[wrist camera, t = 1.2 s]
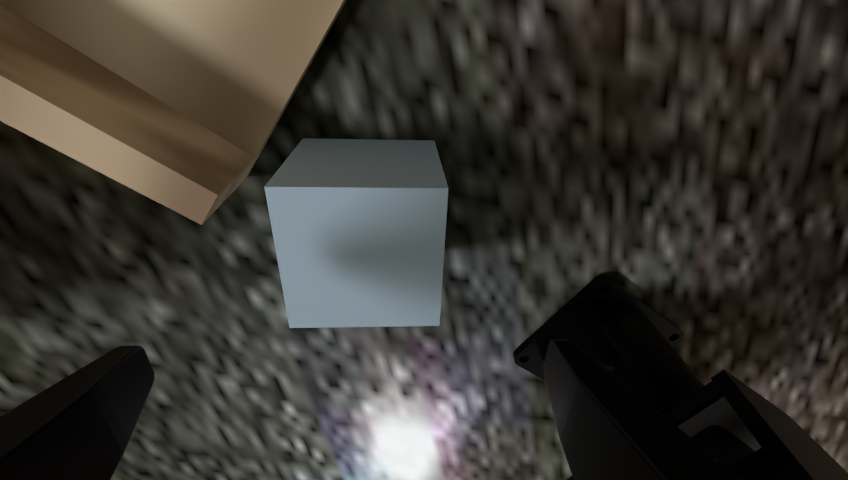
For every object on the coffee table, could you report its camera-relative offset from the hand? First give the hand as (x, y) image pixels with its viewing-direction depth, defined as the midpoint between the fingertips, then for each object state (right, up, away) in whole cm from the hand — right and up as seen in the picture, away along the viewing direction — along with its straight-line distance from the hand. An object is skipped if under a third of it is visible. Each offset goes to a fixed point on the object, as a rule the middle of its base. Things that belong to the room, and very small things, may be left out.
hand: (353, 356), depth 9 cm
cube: (-1, +4, +8) cm, 9 cm away
